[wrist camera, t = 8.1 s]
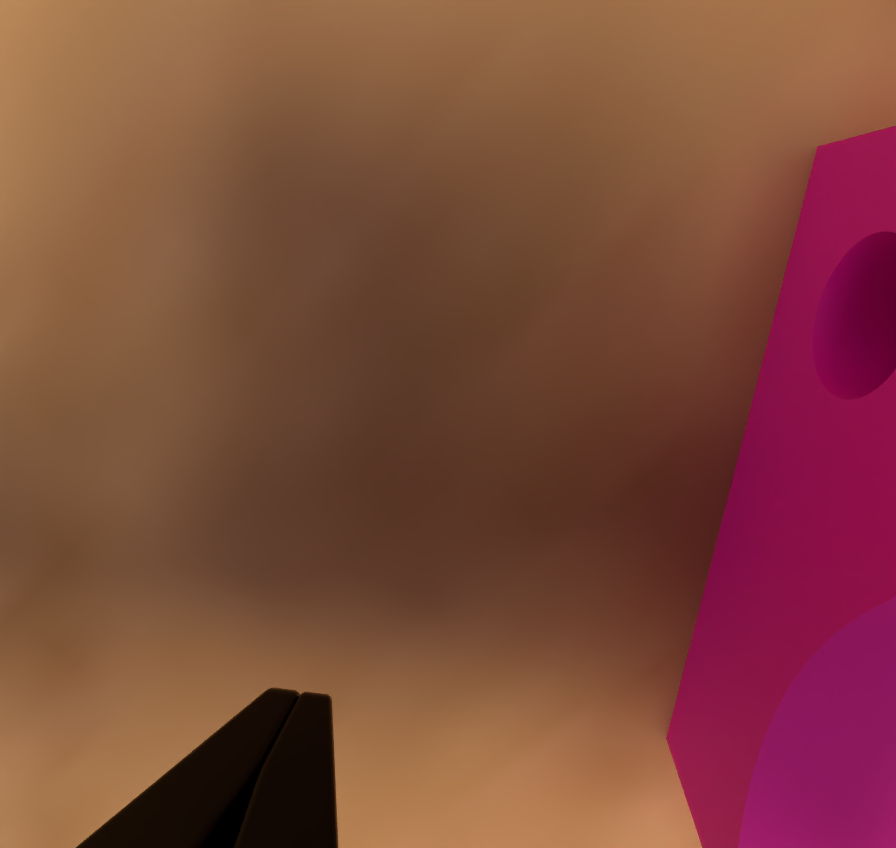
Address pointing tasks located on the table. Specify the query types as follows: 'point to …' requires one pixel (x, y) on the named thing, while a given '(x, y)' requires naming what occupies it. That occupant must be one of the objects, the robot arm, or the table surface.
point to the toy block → (808, 548)
